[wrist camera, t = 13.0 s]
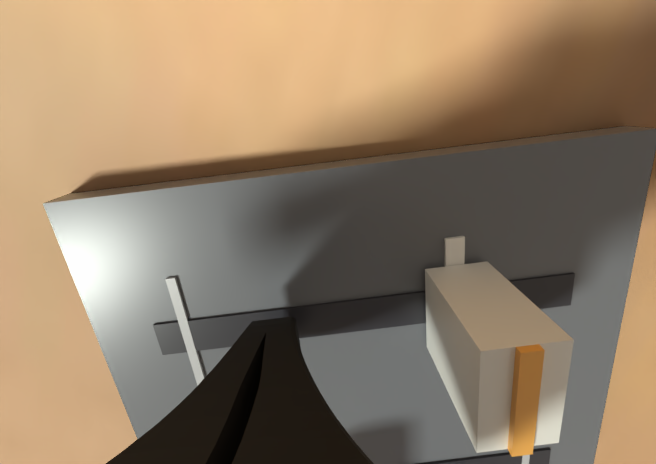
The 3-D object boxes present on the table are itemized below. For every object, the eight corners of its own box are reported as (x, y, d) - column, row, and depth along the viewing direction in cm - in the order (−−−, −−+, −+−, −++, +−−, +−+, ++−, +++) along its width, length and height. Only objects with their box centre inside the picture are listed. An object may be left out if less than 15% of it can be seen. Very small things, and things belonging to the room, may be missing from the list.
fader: (483, 339, 12) (563, 450, 8) (426, 346, 12) (479, 460, 8) (487, 261, 11) (580, 345, 7) (424, 269, 11) (485, 357, 7)
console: (563, 503, 18) (582, 533, 16) (201, 547, 18) (192, 581, 16) (625, 125, 11) (664, 128, 10) (69, 193, 11) (39, 204, 10)
